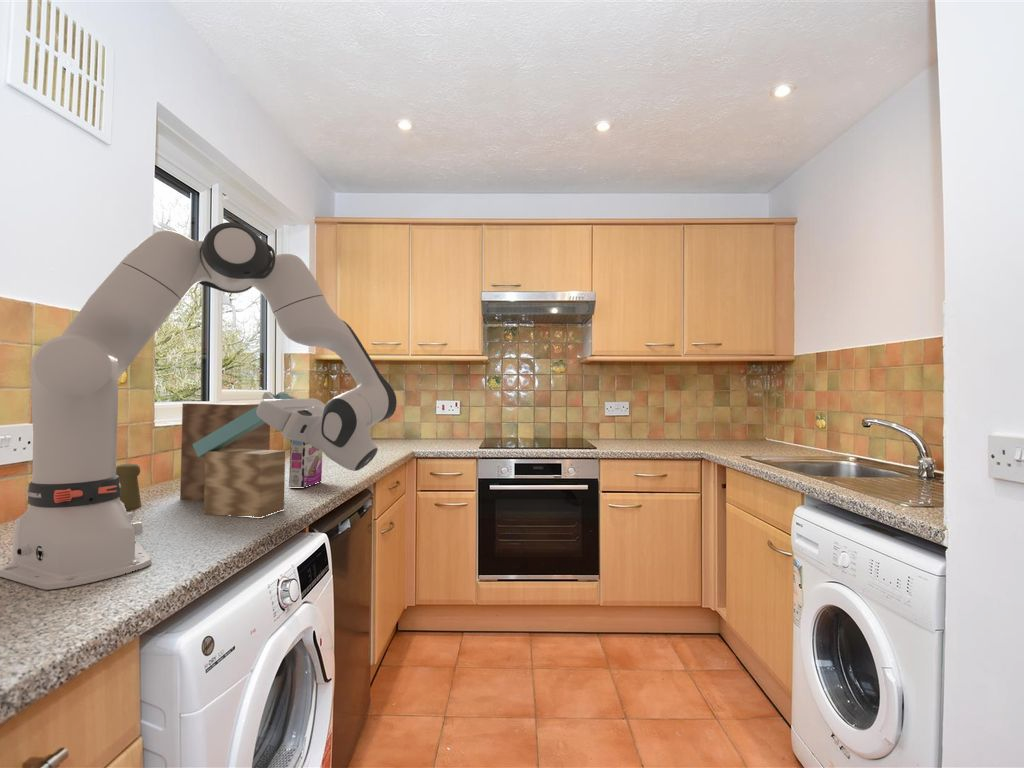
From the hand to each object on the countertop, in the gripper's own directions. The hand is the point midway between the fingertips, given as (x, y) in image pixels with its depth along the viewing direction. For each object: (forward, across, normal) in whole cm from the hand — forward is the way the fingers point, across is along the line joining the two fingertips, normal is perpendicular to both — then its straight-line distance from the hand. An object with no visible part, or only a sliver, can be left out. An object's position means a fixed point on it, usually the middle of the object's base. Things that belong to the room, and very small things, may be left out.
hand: (272, 394), depth 119 cm
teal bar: (+1, +1, +11) cm, 11 cm away
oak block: (-8, 0, +29) cm, 30 cm away
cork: (+18, +5, +44) cm, 48 cm away
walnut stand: (+8, -13, +38) cm, 41 cm away
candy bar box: (-2, -33, +33) cm, 47 cm away
